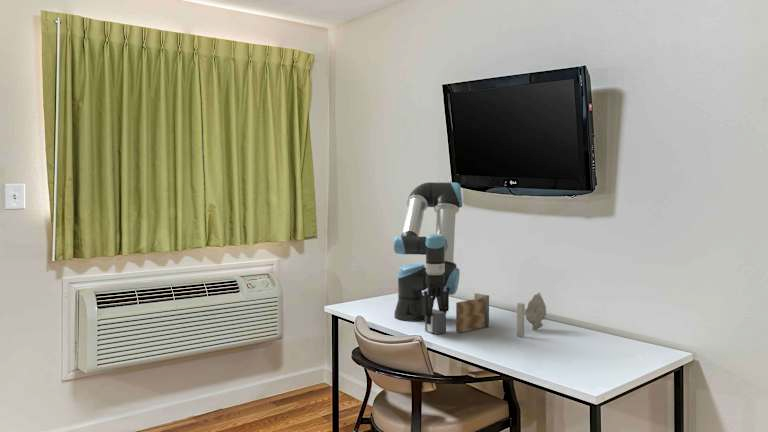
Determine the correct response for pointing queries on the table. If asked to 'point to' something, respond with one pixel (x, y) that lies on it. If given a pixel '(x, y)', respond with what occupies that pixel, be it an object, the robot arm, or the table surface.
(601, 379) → the table surface
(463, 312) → the door
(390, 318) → the table surface
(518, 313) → the door frame
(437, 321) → the block
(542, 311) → the stone tool
